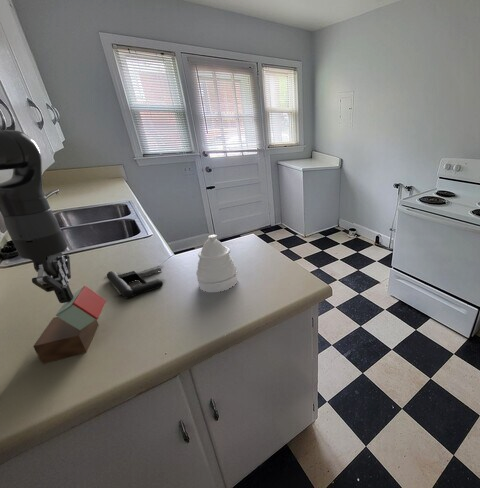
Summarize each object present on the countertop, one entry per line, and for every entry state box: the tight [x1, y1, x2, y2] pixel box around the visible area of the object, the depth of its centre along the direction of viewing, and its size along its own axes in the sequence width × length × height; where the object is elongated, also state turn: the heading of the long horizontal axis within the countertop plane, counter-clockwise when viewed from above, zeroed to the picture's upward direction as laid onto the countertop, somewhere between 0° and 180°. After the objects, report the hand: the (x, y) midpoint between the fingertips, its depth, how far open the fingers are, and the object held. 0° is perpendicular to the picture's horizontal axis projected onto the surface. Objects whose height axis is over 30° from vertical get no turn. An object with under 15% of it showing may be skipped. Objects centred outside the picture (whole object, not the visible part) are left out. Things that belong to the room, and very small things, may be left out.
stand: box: [33, 316, 100, 364], centre depth 66 cm, size 8×11×5 cm
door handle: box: [105, 265, 164, 299], centre depth 94 cm, size 3×20×16 cm
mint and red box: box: [55, 285, 107, 330], centre depth 66 cm, size 6×8×5 cm
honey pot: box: [195, 234, 239, 293], centre depth 91 cm, size 13×13×18 cm
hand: (67, 300), depth 64 cm, fingers closed
